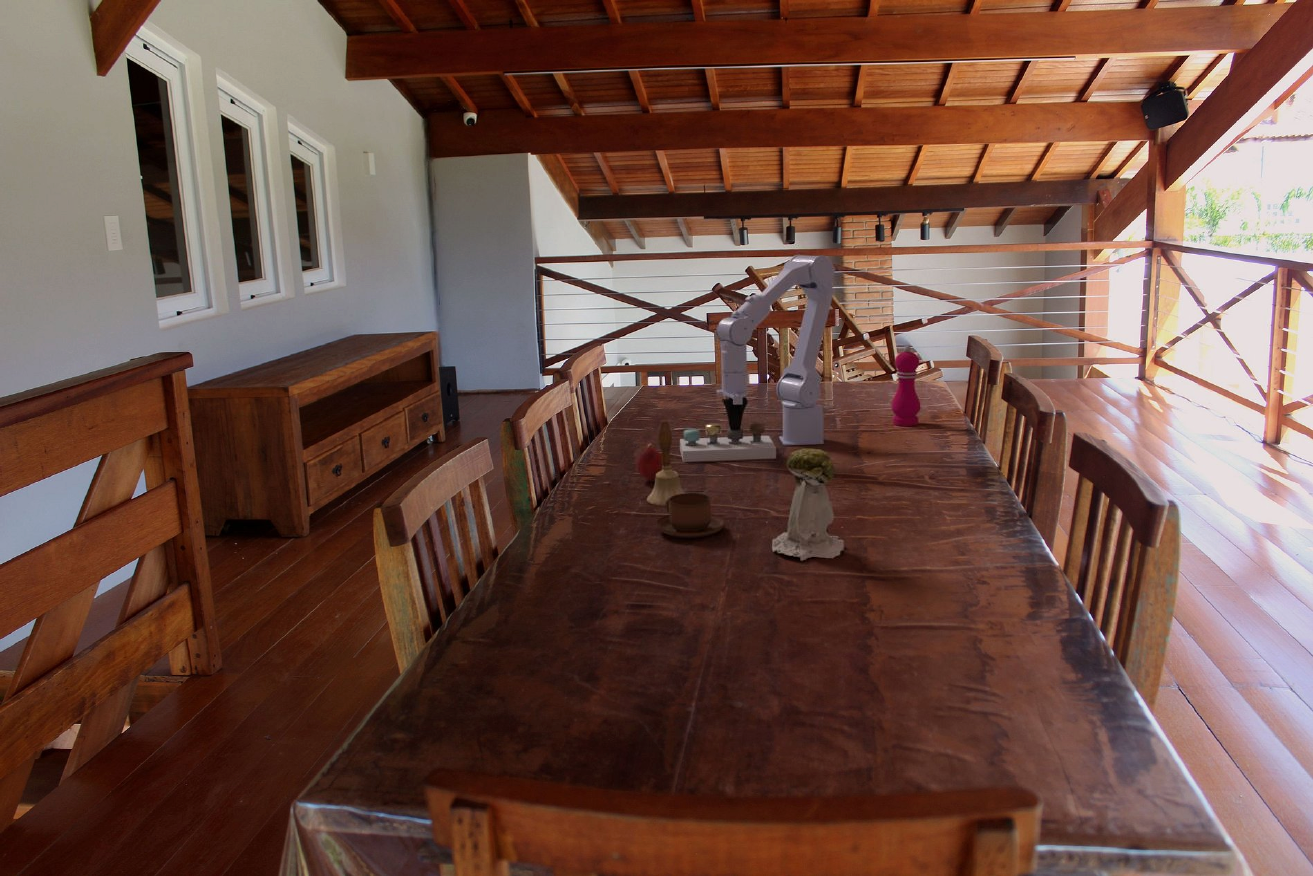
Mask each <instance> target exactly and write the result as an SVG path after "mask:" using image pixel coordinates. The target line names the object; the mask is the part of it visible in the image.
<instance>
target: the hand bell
mask: <svg viewBox="0 0 1313 876" xmlns="http://www.w3.org/2000/svg"><path fill="white" fill-rule="evenodd" d="M657 434H658V445H659V448H660V450H661V455H662V465H663V466H662V468H663V469H662V470H661V471H660V472H658V473H657V474H656V479H655V480H654V486H653V489H652V491H651V493H650V494H649V495H648V496H647V498H646V502H647V503H649V504H650V505H653V506H660V507H666V501H667V500H668V499H669V498H670V497H672V496H674V495H678V494H684V493H686V492H685V491H684V490H683V488H682V485H681V482H680V475H679V473H678V472H677V471H675V470H673V469H672V462H671V452H670V451H671V446H672V440H673V439H672V437H673V436H672V430H671V428H670V425H669V421H668V420H665V419H662V420H660V425H659V428H658V433H657Z"/></svg>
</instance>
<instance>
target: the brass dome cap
mask: <svg viewBox="0 0 1313 876" xmlns="http://www.w3.org/2000/svg"><path fill="white" fill-rule="evenodd" d="M704 427H705V435H706V436H709V438H710V444H716V443H718V438H719V437H718V436H719V435H722V424H720V423H717V422H716V423H712V422H711V423H707V424H705V426H704Z"/></svg>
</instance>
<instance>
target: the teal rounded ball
mask: <svg viewBox="0 0 1313 876" xmlns="http://www.w3.org/2000/svg"><path fill="white" fill-rule="evenodd" d="M700 436H701V435H700V430H699V429H695V428H694V429H692V428H691V429H686V430H683V439H684V440H685V441H688V446H696V441H698V440H700V438H701V437H700Z"/></svg>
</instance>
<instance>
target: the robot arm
mask: <svg viewBox="0 0 1313 876" xmlns="http://www.w3.org/2000/svg"><path fill="white" fill-rule="evenodd" d="M835 272H836V268H835V267H834V265H833V262H832V261H831V259H830V258H829V257H827V255H802V254H796V255H793V256H792V257H791V258H790V260H788V261H787V262H785V263H784V265H783V269H782V270H781V271H780V272H779V274H777V276H776V277H775V278H774V279H773V280H772V281H771V282H770V284H769V285H768V286H767V287H766V288H765V289H764V290H762V292H761V293H760V294H753V295H751V296H750V295H748V296H747V297H746V298H745V299H744V300H745V302H744V303H742V305H741V306H740V307H739V308H737V310H734V311H732V312H731V315H730V317H724V318H723V319H721V321H719V323H718V326H717V328H716V330H715V331H714V332H715V333H714V334H715V337H716V339H717V340H718V342H719V348H720V349H721V350H720V353H721V354H720V356H721V358H720V359H721V360H720V361H721V363H720V364H721V367H720V368H721V389H717V390H716V395H722V396H725V397H726V398H721V401H722V403H723V405H724V408H725V411H726V415H727V421H728V426H729V428H730V429H731V430H740V428H741V426H742V421H743V416H744V412H745V410H746V408H747V405H748V399H747V397H746V396H747V395H748V394H749V390H748V373H747V372H748V368H747V367H748V366H747V364H748V363H747V359H748V358H747V355H748V354H747V343H748V342H750V340H751V338H752V336H753V331H754V330H755V329H756V327H758V326H759V325H760V324H761V323H762V322H763V321H764V320H765V319H766V318H767V317H768V316H769V315H770V313H771V306H772V305H773V304H774V303H775V302H777V301H778V300H779V299H780V298H781V297H783V296H784V295H785V294H787V292H788V291H789V290H791V289H792V288H793V287H794V286H798V287H799V288H800V289H801V290H803V292H804V294H805V296H806V297H807V301H806V304H805V310H804V313H803V317H802V321H801V326H800V330H799V333H798V337H797V341H796V345H795V350H794V354H793V358H792V362H791V363H790V364H788V365H787V366H786V367H785V368H784V369H783V372H782V375H781V377H780V379H779V380H778V381H777V383H776V390H775V392H776V396H777V397H778V399H780V400H781V401H780V404H781V405H782V435H781V436H779V440H780V441H781V443H782V445H784V446H801V445H802V446H805V445H806V446H807V445H824V444H825V442H824V410H823V406H822V405H821V404H816V403H817V402H818V401H819V398H820V396H821V386H820V384H821V375H820V373H819V372H818V370H817V369H816V365H817V361H818V358H819V354H820V353H819V352H820V349H821V345H822V342H823V337H824V332H825V329H826V324H827V321H828V316H829V312H830V308H831V305H832V300H833V297H834V291H833V290H834V289H833V288H834V287H833V281H834V278H835V276H834V275H835Z"/></svg>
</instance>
